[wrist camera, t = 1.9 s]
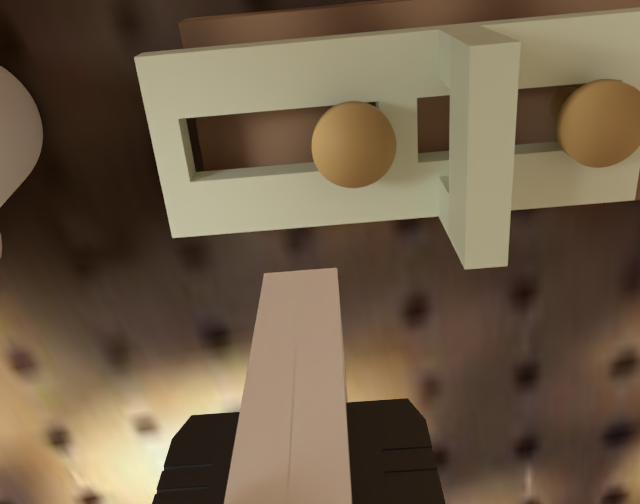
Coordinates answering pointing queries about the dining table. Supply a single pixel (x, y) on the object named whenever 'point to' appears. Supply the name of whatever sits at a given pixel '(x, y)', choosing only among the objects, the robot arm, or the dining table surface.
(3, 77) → the cup
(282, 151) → the rail
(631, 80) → the panel
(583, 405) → the dining table surface
